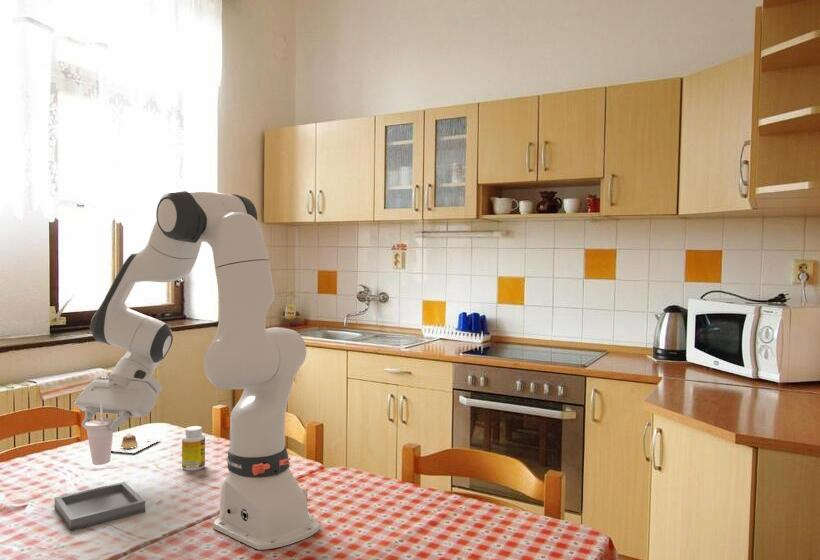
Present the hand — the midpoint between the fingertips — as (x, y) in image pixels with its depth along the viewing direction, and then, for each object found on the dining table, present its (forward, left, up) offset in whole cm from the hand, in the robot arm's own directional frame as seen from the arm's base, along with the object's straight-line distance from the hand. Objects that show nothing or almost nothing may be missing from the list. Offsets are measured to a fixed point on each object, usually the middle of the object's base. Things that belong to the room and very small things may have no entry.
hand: (97, 428), depth 139 cm
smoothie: (0, -1, -8) cm, 9 cm away
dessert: (+24, -14, -14) cm, 31 cm away
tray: (-15, +4, -13) cm, 21 cm away
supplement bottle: (-3, -21, -13) cm, 26 cm away
